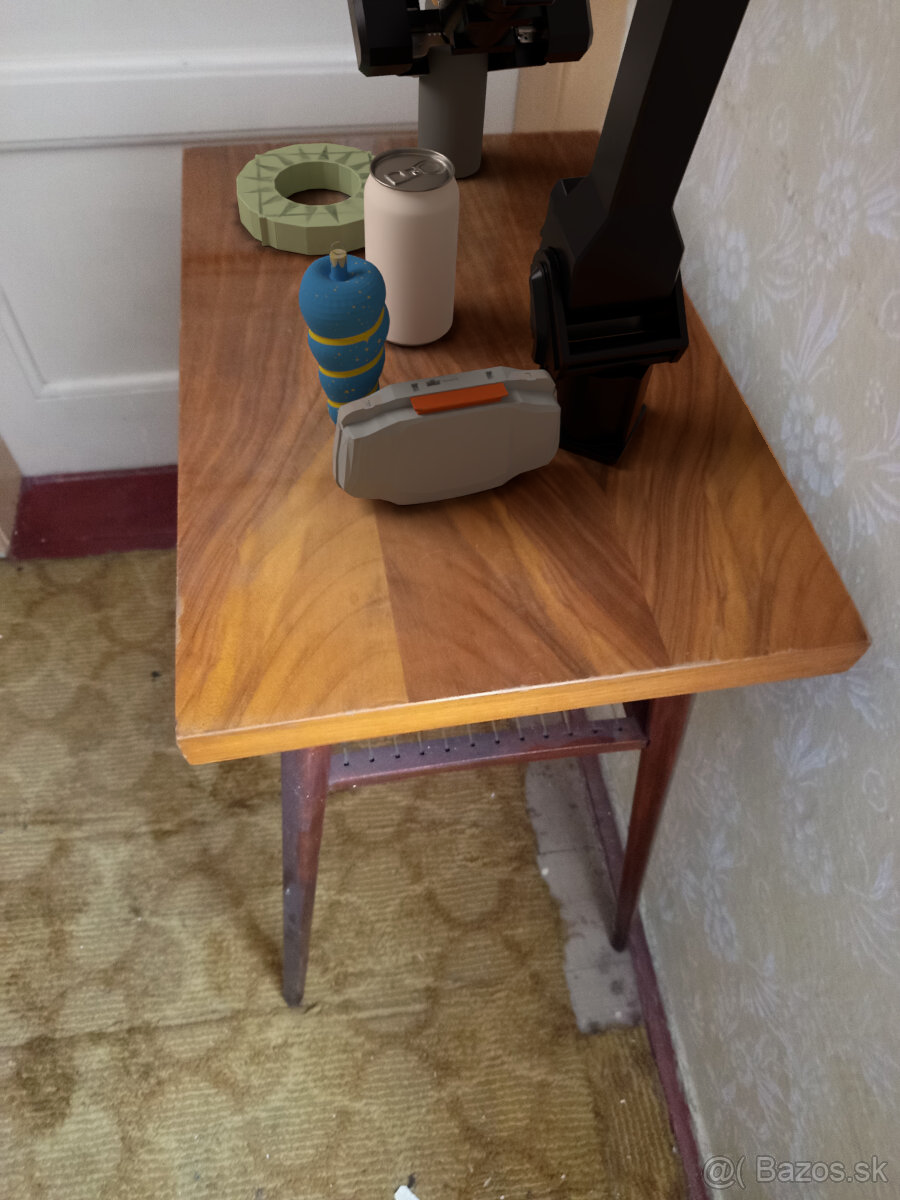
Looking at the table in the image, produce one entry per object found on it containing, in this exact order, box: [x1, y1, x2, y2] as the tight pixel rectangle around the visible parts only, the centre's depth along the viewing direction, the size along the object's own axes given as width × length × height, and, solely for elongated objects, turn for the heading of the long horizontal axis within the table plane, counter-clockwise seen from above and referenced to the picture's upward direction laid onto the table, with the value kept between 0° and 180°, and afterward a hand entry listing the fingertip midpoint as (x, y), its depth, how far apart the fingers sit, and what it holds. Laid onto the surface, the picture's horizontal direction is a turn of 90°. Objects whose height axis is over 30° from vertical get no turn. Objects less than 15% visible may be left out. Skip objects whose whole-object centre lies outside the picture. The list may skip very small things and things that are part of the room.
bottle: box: [417, 0, 489, 179], centre depth 78 cm, size 6×6×15 cm
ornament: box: [298, 242, 390, 426], centre depth 55 cm, size 5×5×15 cm
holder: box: [235, 142, 376, 256], centre depth 77 cm, size 13×13×2 cm
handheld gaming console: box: [332, 365, 561, 506], centre depth 56 cm, size 14×3×8 cm, turn 107°
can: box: [364, 146, 461, 347], centre depth 65 cm, size 6×6×12 cm
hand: (448, 68), depth 79 cm, fingers closed on bottle, 6 cm apart
